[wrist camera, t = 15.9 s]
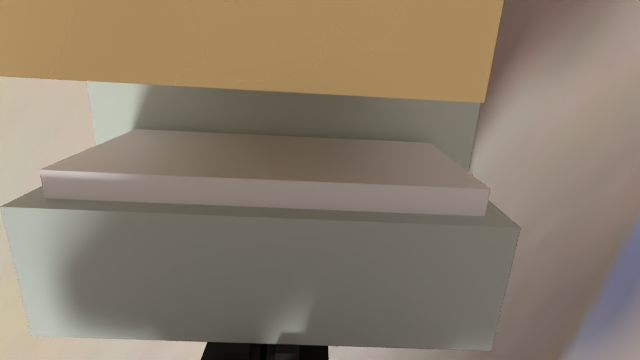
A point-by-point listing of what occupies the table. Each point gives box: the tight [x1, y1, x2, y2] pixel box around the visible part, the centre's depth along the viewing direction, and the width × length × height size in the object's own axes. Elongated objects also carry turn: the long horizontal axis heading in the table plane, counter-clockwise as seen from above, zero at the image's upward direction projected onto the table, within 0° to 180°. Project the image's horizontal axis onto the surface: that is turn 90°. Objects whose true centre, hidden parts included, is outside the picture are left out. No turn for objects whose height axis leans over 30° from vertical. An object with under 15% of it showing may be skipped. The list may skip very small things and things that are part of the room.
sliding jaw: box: [0, 129, 521, 351], centre depth 10 cm, size 4×10×5 cm, turn 87°
